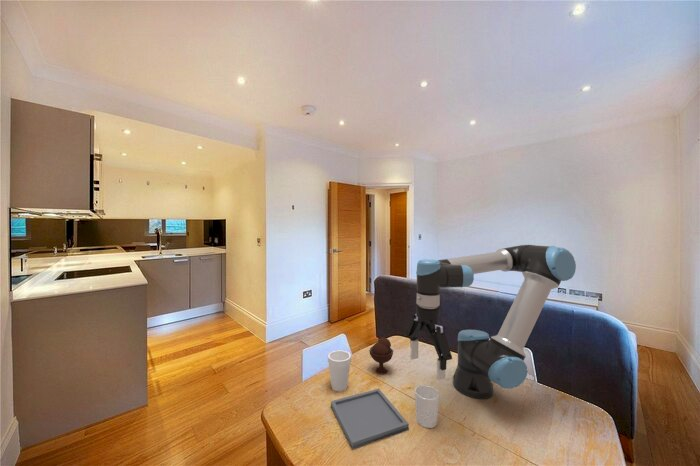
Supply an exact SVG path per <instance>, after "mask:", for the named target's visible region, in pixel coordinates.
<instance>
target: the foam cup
mask: <svg viewBox="0 0 700 466" xmlns="http://www.w3.org/2000/svg"><path fill="white" fill-rule="evenodd" d="M327 355H328V356H327V362H328V369H329V374H330V375H329V376H330V386H331V389H332V390H333V391H334V392H344V391H345V390H347V388H348V383H349V376H350V375H349V374H350V369H351V368H350V366H351V362H352V355H351V353H350V352H349V351H346V350H341V349H339V350H333V351H331V352H329V353H328V354H327Z"/></svg>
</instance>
